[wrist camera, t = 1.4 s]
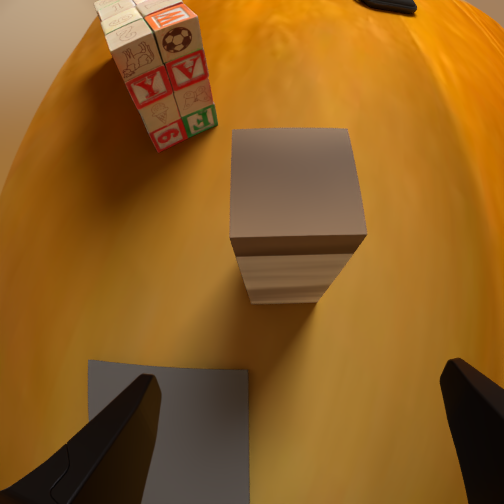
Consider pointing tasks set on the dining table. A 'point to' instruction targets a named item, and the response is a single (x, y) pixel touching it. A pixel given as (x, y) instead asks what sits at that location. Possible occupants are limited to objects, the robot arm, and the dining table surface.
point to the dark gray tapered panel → (188, 431)
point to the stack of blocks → (161, 66)
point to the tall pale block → (293, 211)
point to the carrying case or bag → (393, 5)
